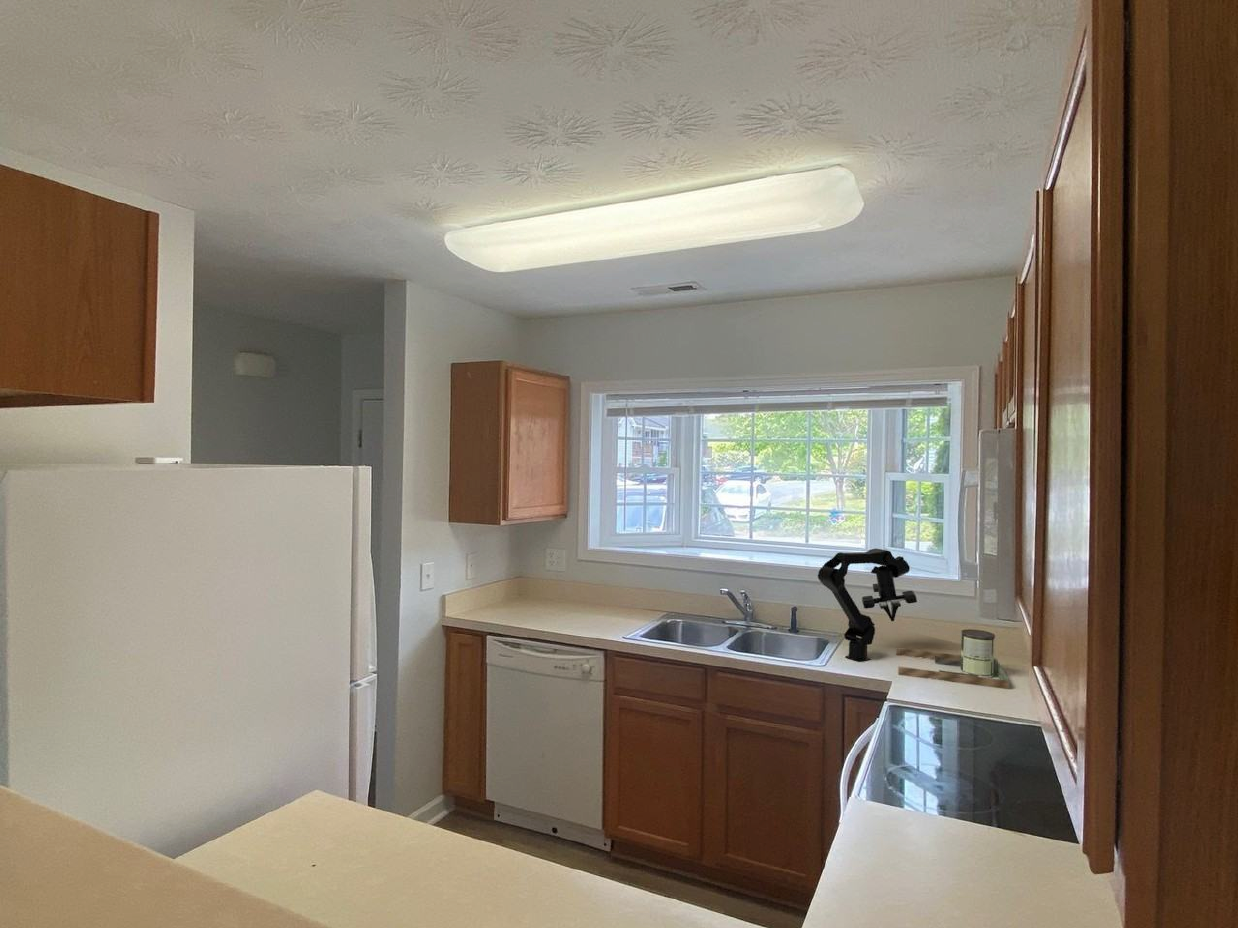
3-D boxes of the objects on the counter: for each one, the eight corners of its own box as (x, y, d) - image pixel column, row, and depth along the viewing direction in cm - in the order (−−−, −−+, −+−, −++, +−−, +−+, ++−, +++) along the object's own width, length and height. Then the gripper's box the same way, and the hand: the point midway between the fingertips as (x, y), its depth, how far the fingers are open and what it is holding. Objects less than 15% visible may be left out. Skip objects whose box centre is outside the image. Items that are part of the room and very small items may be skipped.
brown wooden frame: (898, 674, 232) (898, 665, 232) (896, 654, 257) (896, 646, 257) (1008, 689, 220) (1008, 679, 220) (995, 666, 245) (995, 657, 245)
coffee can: (954, 668, 241) (955, 628, 241) (982, 669, 241) (983, 629, 241) (970, 677, 231) (971, 636, 231) (1000, 678, 231) (1001, 637, 231)
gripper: (908, 571, 260) (914, 609, 262) (857, 577, 265) (864, 615, 267) (913, 581, 249) (920, 621, 251) (860, 587, 254) (867, 627, 256)
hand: (892, 620), depth 257 cm, fingers closed
